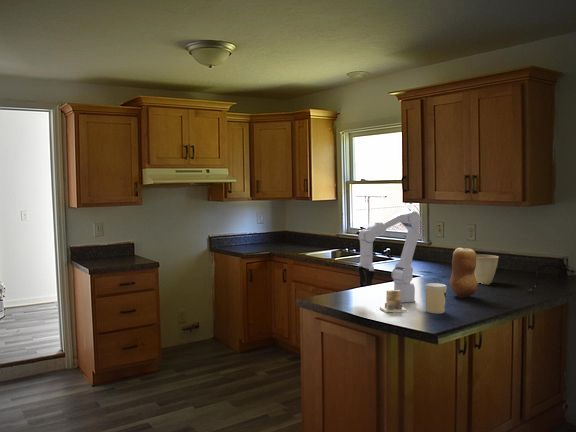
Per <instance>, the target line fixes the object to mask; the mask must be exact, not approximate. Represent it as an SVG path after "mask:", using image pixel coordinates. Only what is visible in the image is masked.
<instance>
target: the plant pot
mask: <svg viewBox="0 0 576 432" xmlns="http://www.w3.org/2000/svg"><path fill="white" fill-rule="evenodd" d="M499 257H500V256H498V255H492V254H476V268H475V272H474V274H475V277H476V280H477V284H479V283H481V284H480V285H491V284H492V282H493V281H494V276H495V274H496V270H497V268H498V265H499V264H498V263H499V259H500V258H499ZM490 283H491V284H490Z"/></svg>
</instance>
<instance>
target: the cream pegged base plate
mask: <svg viewBox="0 0 576 432" xmlns="http://www.w3.org/2000/svg"><path fill="white" fill-rule="evenodd" d="M380 309H381V310H380ZM379 310H380V311H383V312H384V313H385V312H386V314H388V313H387V312H393V313H407V312H408V309H407V308H405V307H404V306H403V304H401V305H397V309H394V305H389V309H387V308H386V302H385V303H384V306H380V307H379Z"/></svg>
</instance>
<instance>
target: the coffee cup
mask: <svg viewBox="0 0 576 432" xmlns="http://www.w3.org/2000/svg"><path fill="white" fill-rule="evenodd" d="M424 288H425V303H426V304H425V307H426V308H425V309H426V312H427V313H430V314H444V313H445V311H446V309H445V308H446V301H447V300H446V299H447V290H448V289H447V288H448V286H447V285H446V284H444V283H440V282H439V283H438V282H437V283H436V282H431V283H430V282H429V283H426V284H425V286H424Z"/></svg>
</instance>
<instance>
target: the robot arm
mask: <svg viewBox="0 0 576 432" xmlns="http://www.w3.org/2000/svg"><path fill="white" fill-rule="evenodd" d="M421 220H422V217H421V215H420V214H419V213H418V211H415V210H413V211H412V210H411V211H410V210H409V211H408V210H401V211H399V212H397V213H396V214H395V215H393V216H391V217H390V218H388V219H386V220H384V222H382V221H375V223H374V224H372V225H371V226H367V227H366V229H365V228H363V229H361V230H360V231H359V233H358V235H357V238H358V240H359V246H360V247H359V248H360V249H359V251H360V252H359V253H360V255H359V262H358V264H357V266H358V267H356V269H357V272H358V275H359V279H360V283H365V284H366V286H372V283H373V279H374V276H375V275H376V272H377V270H375V267H374V264H373V250H374V249H373V245H374V244H373V242H374V241H375V240H376V238H378V237H380V236H381V235H383V234H386V232H387V229H390V228H391V227H393V226H396V225H398V224H400V223H401V224H402V225H403V226H404V227H405V228H406V230H407V234H406V237H405V241H404V245H403V248H402V252H401V254H400V259H399V261H398V262H397V263H396V264H395V266H394V268H393V269H392V270H391V278H392V279H393V285H394V286H393V290H400V291H401V303H414V302H416V300H415V299H416V298H415V295H416V289H415V288H416V287H415V284H414V282H412V280H413V277H414V276H413V272H414V269H413V267H412V263H413V262H412V261H413V258H414V254H415V250H416V246H417V244H418V239H419V236H420V232H421Z"/></svg>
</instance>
